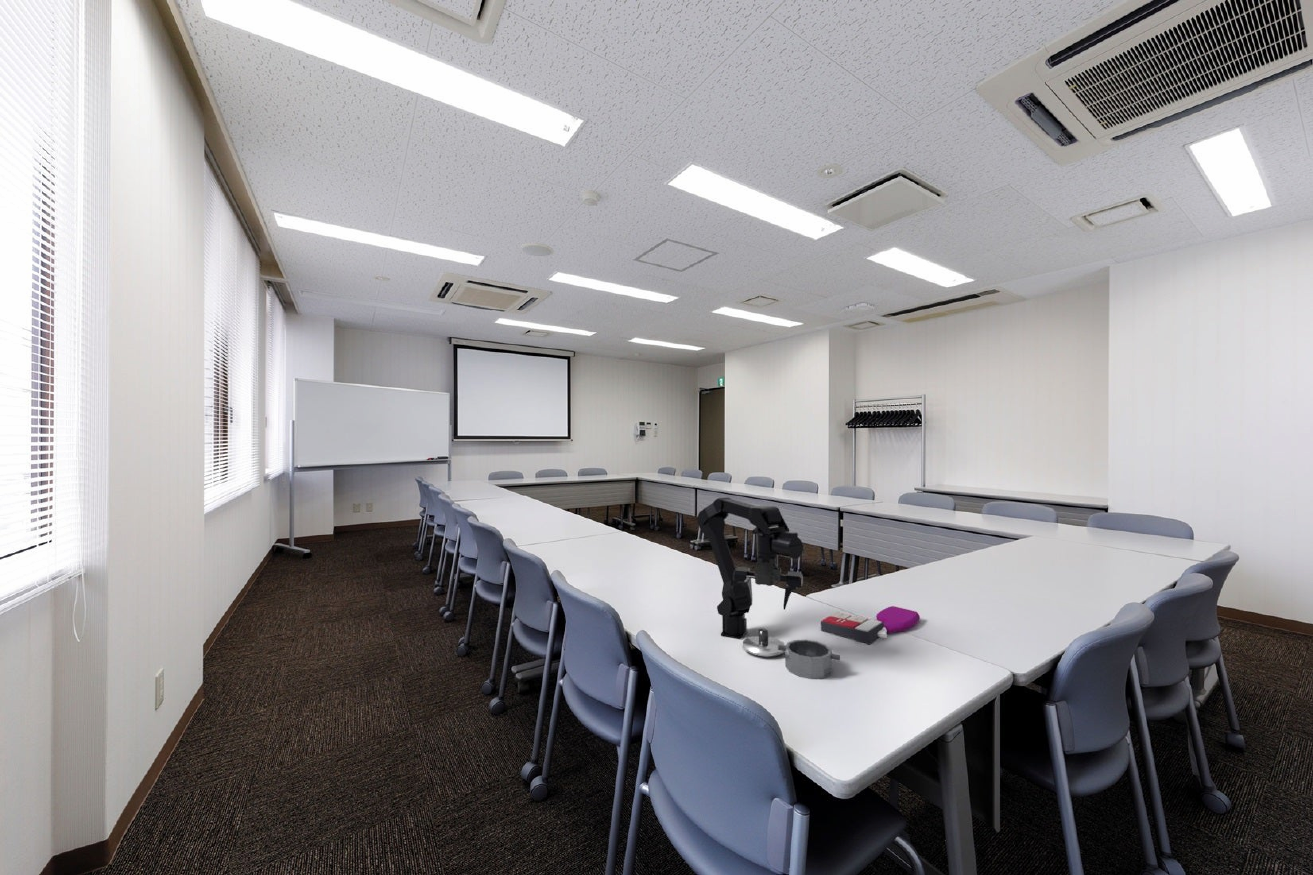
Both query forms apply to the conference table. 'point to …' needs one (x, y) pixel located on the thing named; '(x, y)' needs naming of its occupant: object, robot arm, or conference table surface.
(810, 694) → the conference table surface
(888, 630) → the purple squeeze pouch
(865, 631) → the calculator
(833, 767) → the conference table surface
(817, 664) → the pot
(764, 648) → the lid
